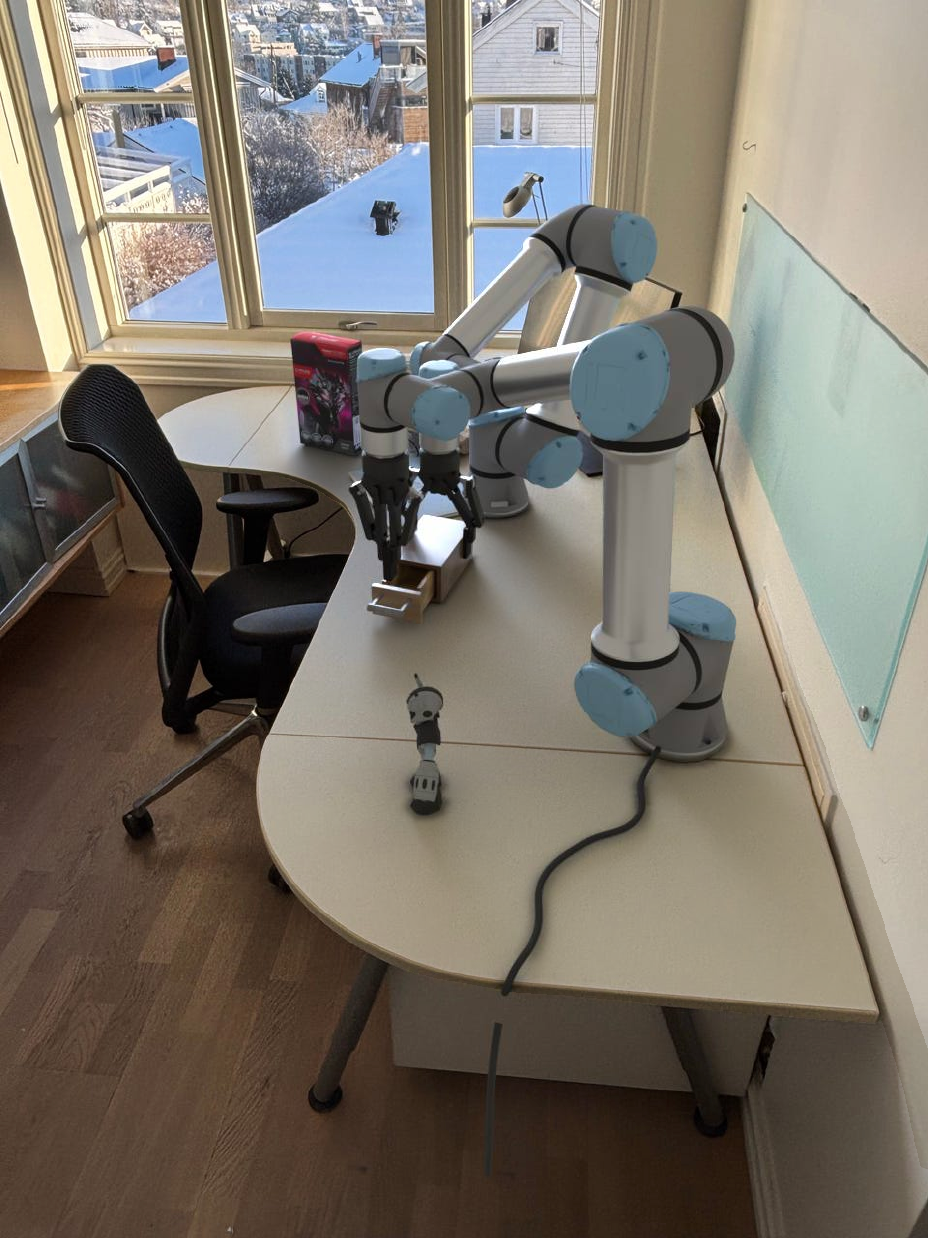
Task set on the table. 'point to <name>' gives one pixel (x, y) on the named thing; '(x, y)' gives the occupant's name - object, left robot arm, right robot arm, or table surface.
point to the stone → (463, 439)
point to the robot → (426, 746)
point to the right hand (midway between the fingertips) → (390, 576)
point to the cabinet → (437, 551)
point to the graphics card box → (327, 391)
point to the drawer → (404, 593)
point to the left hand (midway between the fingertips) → (440, 551)
